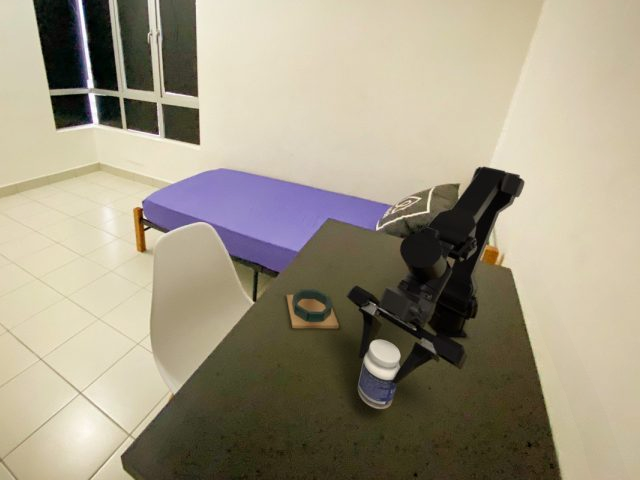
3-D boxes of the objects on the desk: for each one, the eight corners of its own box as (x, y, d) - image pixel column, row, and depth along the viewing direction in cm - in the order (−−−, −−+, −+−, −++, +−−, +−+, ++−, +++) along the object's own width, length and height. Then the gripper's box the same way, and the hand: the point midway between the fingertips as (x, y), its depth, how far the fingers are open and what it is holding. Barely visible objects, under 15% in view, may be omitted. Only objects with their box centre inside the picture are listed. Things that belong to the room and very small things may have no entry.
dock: (327, 298, 89) (328, 287, 87) (338, 328, 78) (340, 316, 77) (286, 297, 88) (287, 286, 87) (292, 328, 78) (293, 316, 77)
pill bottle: (395, 414, 54) (407, 368, 50) (358, 406, 55) (368, 361, 51) (389, 383, 59) (400, 339, 55) (356, 376, 60) (364, 333, 56)
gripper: (360, 245, 57) (312, 325, 54) (482, 302, 44) (428, 411, 41) (376, 267, 65) (335, 339, 62) (484, 322, 52) (439, 415, 49)
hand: (376, 370), depth 53 cm, fingers closed on pill bottle, 6 cm apart
